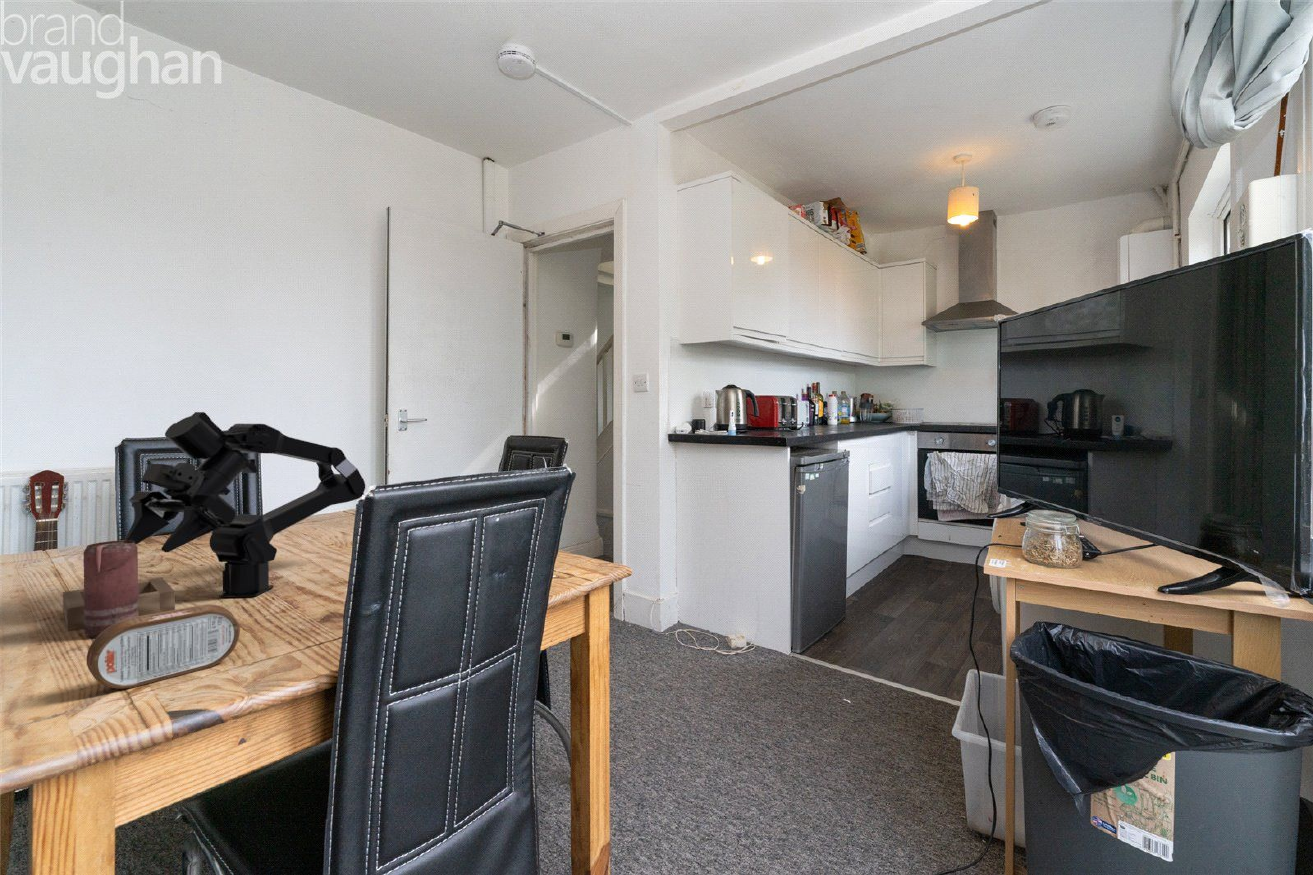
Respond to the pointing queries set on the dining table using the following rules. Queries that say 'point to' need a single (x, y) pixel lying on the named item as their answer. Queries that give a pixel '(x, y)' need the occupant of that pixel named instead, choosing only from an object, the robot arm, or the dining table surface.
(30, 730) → the dining table surface
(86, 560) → the can
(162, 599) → the collar
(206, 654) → the tin
